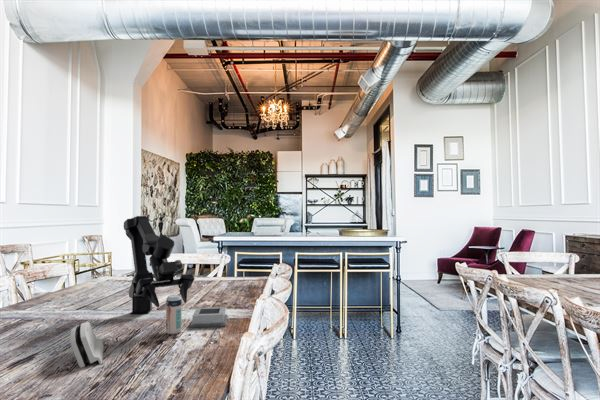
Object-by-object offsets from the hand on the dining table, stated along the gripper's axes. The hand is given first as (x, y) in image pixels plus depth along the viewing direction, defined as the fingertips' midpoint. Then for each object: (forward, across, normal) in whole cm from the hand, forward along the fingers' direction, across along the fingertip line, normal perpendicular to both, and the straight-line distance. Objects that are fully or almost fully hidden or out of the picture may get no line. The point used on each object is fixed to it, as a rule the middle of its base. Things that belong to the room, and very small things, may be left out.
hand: (172, 304), depth 126 cm
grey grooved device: (+11, -26, +3) cm, 28 cm away
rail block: (+5, +14, +8) cm, 17 cm away
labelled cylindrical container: (+8, 0, +6) cm, 9 cm away
